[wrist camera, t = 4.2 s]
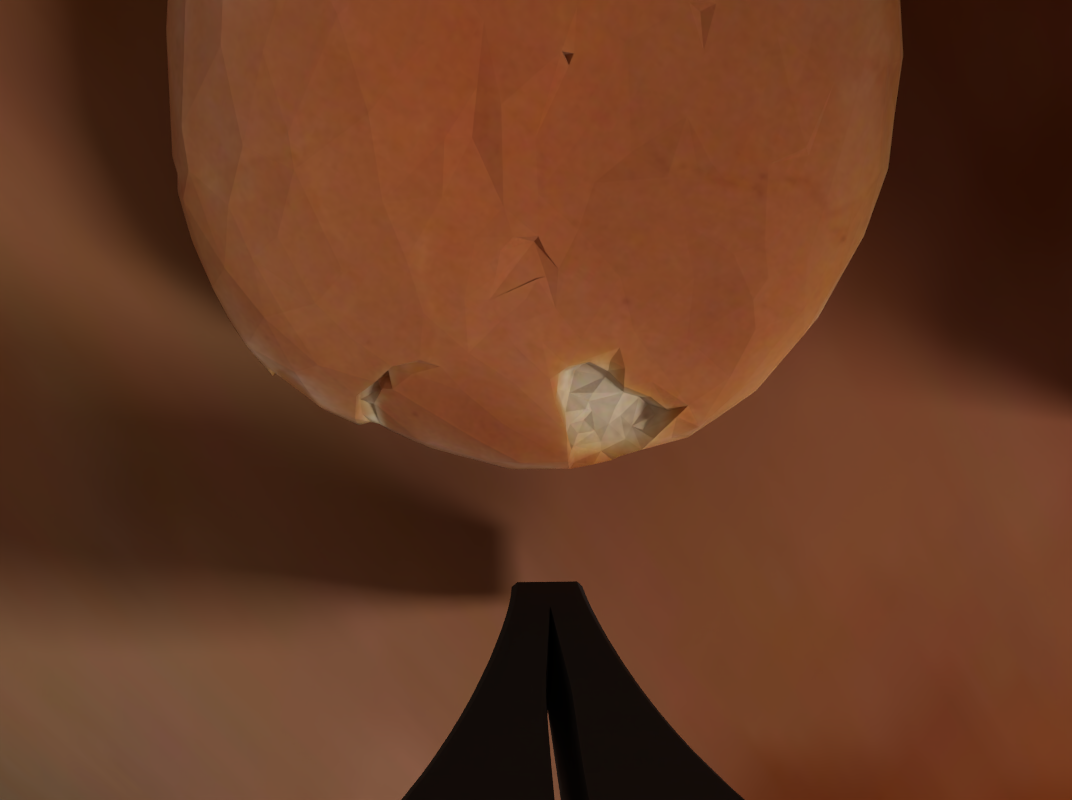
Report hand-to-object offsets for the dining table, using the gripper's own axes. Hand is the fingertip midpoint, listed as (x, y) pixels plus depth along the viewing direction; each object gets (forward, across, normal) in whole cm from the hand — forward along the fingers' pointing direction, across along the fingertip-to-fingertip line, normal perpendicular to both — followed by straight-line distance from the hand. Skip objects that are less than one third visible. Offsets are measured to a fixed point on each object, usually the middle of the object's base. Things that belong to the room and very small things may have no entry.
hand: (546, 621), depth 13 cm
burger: (+2, 0, -9) cm, 9 cm away
